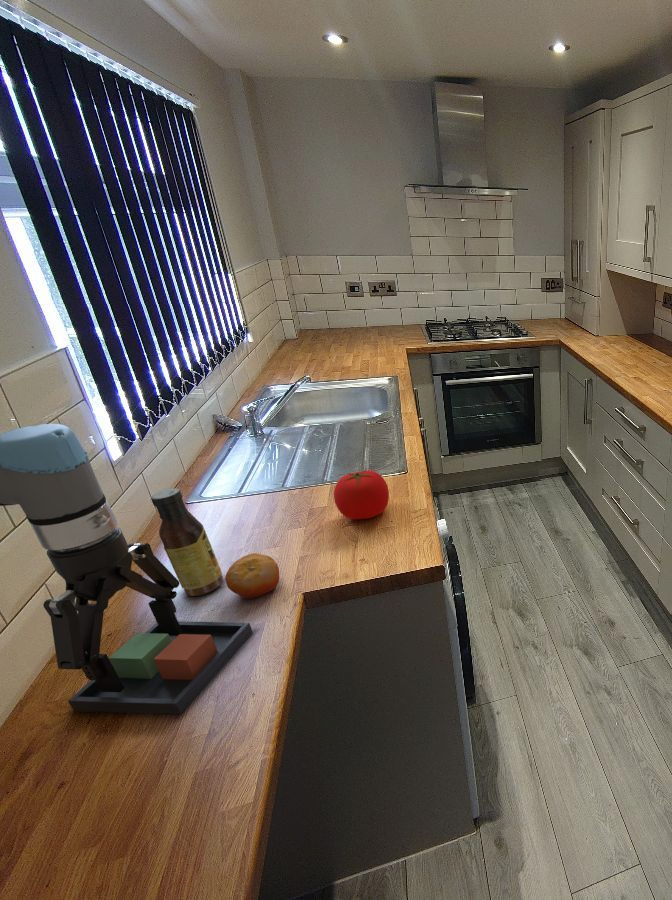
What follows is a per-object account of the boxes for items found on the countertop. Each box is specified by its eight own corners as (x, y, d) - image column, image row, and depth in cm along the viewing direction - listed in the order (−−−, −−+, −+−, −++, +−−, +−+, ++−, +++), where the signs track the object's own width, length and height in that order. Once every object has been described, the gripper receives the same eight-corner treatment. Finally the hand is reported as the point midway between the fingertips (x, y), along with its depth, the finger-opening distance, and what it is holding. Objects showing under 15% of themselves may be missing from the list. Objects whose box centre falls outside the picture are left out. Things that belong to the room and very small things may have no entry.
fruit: (271, 561, 102) (267, 540, 97) (287, 594, 99) (284, 574, 94) (222, 580, 97) (216, 559, 91) (238, 615, 94) (232, 596, 89)
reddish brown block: (162, 679, 78) (153, 659, 76) (188, 653, 82) (179, 633, 80) (195, 680, 77) (186, 660, 76) (219, 654, 82) (211, 634, 80)
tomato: (389, 497, 128) (381, 458, 123) (395, 521, 118) (386, 479, 113) (339, 507, 123) (329, 467, 119) (340, 533, 113) (329, 491, 109)
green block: (119, 678, 78) (108, 658, 76) (146, 652, 82) (137, 632, 81) (151, 678, 78) (141, 658, 76) (177, 653, 82) (168, 633, 80)
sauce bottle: (231, 583, 98) (196, 490, 90) (193, 602, 94) (153, 506, 85) (214, 571, 102) (179, 481, 93) (177, 589, 97) (136, 496, 89)
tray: (73, 711, 73) (67, 701, 72) (162, 630, 88) (158, 620, 87) (181, 714, 73) (175, 704, 72) (253, 632, 87) (249, 622, 86)
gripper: (21, 594, 60) (100, 728, 69) (176, 495, 80) (221, 608, 90) (-41, 593, 60) (46, 726, 69) (129, 495, 81) (179, 608, 90)
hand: (145, 660), depth 80 cm, fingers open, 10 cm apart
